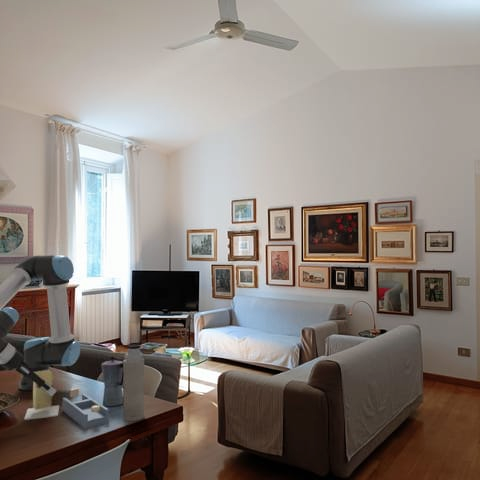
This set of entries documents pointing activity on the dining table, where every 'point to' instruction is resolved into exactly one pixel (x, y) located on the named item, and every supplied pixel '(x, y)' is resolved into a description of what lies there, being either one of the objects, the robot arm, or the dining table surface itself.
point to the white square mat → (42, 412)
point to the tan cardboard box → (42, 391)
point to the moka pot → (112, 382)
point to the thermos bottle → (133, 384)
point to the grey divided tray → (85, 410)
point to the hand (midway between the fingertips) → (52, 391)
